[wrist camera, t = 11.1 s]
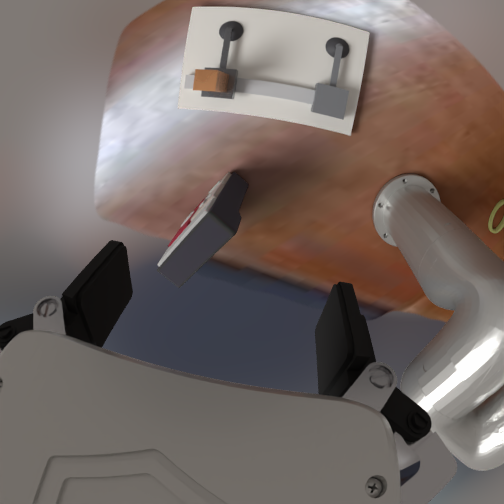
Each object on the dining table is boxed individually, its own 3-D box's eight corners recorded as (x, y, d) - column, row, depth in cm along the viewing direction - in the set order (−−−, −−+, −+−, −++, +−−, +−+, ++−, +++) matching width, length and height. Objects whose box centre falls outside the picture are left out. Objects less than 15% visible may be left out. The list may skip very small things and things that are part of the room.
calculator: (230, 167, 39) (204, 205, 27) (252, 186, 41) (236, 233, 28) (187, 215, 44) (150, 268, 31) (207, 232, 45) (178, 289, 33)
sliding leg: (246, 28, 26) (235, 10, 19) (234, 99, 32) (221, 99, 25) (215, 26, 26) (198, 10, 19) (205, 96, 32) (184, 96, 25)
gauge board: (366, 34, 26) (375, 28, 23) (348, 134, 35) (354, 138, 31) (195, 9, 26) (186, 2, 23) (181, 107, 35) (171, 109, 32)
